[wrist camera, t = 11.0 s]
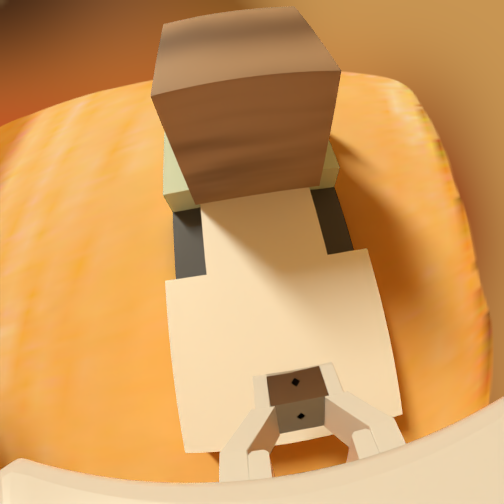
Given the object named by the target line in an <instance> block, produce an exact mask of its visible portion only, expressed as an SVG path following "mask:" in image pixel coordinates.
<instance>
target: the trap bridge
mask: <svg viewBox="0 0 504 504" xmlns="http://www.w3.org/2000/svg"><path fill="white" fill-rule="evenodd" d="M339 169H340V167H339V164H338V161H337V159H336V156H335V154H334V151H333V149H332V146H331V144H330V141H328V146H327V151H326V156H325V161H324V166H323V171H322V175H321V180H320V185H319V186H314V187H306V188H299V189H291V190H284V191H277V192H271V193H264V194H257V195H251V196H245V197H239V198H232V199H226V200H221V201H215V202H209V203H204V204H198V205H195V203H194V200H193V198H192V196H191V193H190V191H189V189H188V186H187V184H186V181H185V179H184V177H183V174H182V172H181V170H180V167H179V165H178V162H177V160H176V158H175V155H174V153H173V150H172V148H171V145H170V143H169V141H168V138H167V136H166V133H165V135H164V163H163V196H164V198H165V199H166V201H167V203H168V205H169V206H170V208H171V210H172V212H173V229H174V252H175V270H176V279H175V280H168V281H165V286H166V302H167V315H168V327H169V338H170V348H171V358H172V367H173V375H174V383H175V391H176V398H177V405H178V412H179V418H180V425H181V431H182V437H183V442H184V448H185V453H202V452H220V451H221V450H222V449H223V448H224V446H225V445H226V444H227V442H228V441H229V440H230V438H231V437H232V435H233V434H234V433H235V431H236V430H237V429H238V427H239V426H240V424H241V423H242V422H243V420H244V419H245V417H246V416H247V414H248V413H249V412H250V410H251V409H255V406H254V394H253V383H252V377H253V376H257V375H265V374H271V373H278V372H285V371H291V370H295V369H300V368H305V367H310V366H315V365H320V364H324V363H329V362H332V363H333V365H334V368H335V370H336V373H337V375H338V378H339V381H340V383H341V386H342V388H343V391H344V392H347V391H348V392H350V393H351V394H353V395H355V396H356V397H358V398H360V399H361V400H363V401H365V402H366V403H368V404H370V405H371V406H373V407H375V408H377V409H378V410H380V411H382V412H383V413H385V414H387V415H389V416H390V417H392V418H393V417H396V416H399V415H401V414H403V413H402V405H401V398H400V392H399V386H398V379H397V374H396V368H395V362H394V357H393V352H392V347H391V342H390V337H389V332H388V328H387V323H386V319H385V315H384V310H383V306H382V302H381V298H380V294H379V290H378V286H377V282H376V279H375V275H374V271H373V268H372V264H371V260H370V257H369V253H368V250H367V248H365V249H359V250H354V249H353V246H352V242H351V239H350V235H349V232H348V229H347V225H346V222H345V219H344V216H343V212H342V209H341V206H340V203H339V200H338V197H337V194H336V191H335V188H334V186H335V183H336V179H337V176H338V172H339ZM266 377H267V376H266ZM328 435H333V433H331V432H330V431H329V430H328V429H327V428H326V427H324V426H319V427H313V428H308V429H302V430H297V431H292V432H287V433H282V434H280V436H279V438H278V440H277V442H276V444H275V445H282V444H288V443H294V442H299V441H305V440H310V439H315V438H319V437H324V436H328Z"/></svg>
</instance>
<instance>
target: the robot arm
mask: <svg viewBox="0 0 504 504" xmlns="http://www.w3.org/2000/svg"><path fill="white" fill-rule="evenodd" d="M266 376H267V377H266ZM252 383H253V394H254V406H255V409H251V410H250V412H249V413H248V414H247V416H246V417H245V419H244V420H243V422H242V423H241V424H240V426H239V427H238V429H237V430H236V431H235V433H234V434H233V435H232V437H231V438H230V440H229V441H228V442H227V444H226V445H225V446H224V448H223V449H222V450H221V452H220V453H219V482H213V483H168V482H149V481H137V480H127V479H118V478H111V477H104V476H97V475H91V474H86V473H81V472H76V471H71V470H66V469H62V468H58V467H54V466H50V465H46V464H42V463H39V462H35V461H32V460H29V459H25V458H19V459H16V460H14V461H13V462H11V463H10V464H8V465H7V466H5V467H4V468H2V469H1V470H0V504H504V396H503V397H501V398H500V399H498V400H496V401H495V402H493V403H491V404H490V405H488V406H486V407H484V408H482V409H481V410H479V411H477V412H475V413H473V414H471V415H469V416H468V417H466V418H464V419H462V420H460V421H458V422H456V423H454V424H451V425H449V426H447V427H445V428H443V429H441V430H438V431H436V432H434V433H432V434H429V435H427V436H425V437H422V438H420V439H417V440H415V441H412V442H409V443H407V444H406V443H405V440H404V438H403V436H402V434H401V432H400V430H399V428H398V426H397V423H396V421H395V419H394V418H392V417H390V416H389V415H387V414H385V413H383V412H382V411H380V410H378V409H377V408H375V407H373V406H371V405H370V404H368V403H366V402H365V401H363V400H361V399H360V398H358V397H356V396H355V395H353V394H351V393H350V392H348V391H347V392H344V391H343V388H342V386H341V383H340V381H339V378H338V375H337V373H336V370H335V368H334V365H333V363H332V362H329V363H324V364H320V365H315V366H310V367H305V368H300V369H295V370H291V371H285V372H278V373H271V374H265V375H257V376H253V377H252ZM319 426H324V427H326V428H327V429H328V430H329V431H330V432H331V433H333V434H334V435H335V436H336V437H337V438H339V439H340V440H341V441H342V442H343V443H345V444H346V445H347V446H348V447H349V452H348V456H347V461H346V463H343V464H340V465H335V466H331V467H327V468H322V469H318V470H313V471H308V472H303V473H297V474H292V475H285V476H279V477H275V475H274V471H273V467H272V463H271V459H270V453H271V452H272V450H273V448H274V446H275V444H276V442H277V440H278V438H279V436H280V434H282V433H287V432H292V431H297V430H302V429H308V428H313V427H319Z"/></svg>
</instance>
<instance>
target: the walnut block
mask: <svg viewBox="0 0 504 504" xmlns="http://www.w3.org/2000/svg"><path fill="white" fill-rule="evenodd" d="M340 74H341V70H340V68H339V67H338V65H337V64H336V62H335V61H334V59H333V58H332V56H331V55H330V53H329V52H328V50H327V49H326V47H325V46H324V45H323V43H322V42H321V41H320V39H319V38H318V36H317V35H316V34H315V32H314V31H313V29H312V28H311V27H310V26H309V24H308V23H307V22H306V20H305V19H304V18H303V16H302V15H301V14H300V13H299V11H298V10H297V9H296V8H295V7H271V8H258V9H247V10H238V11H230V12H224V13H216V14H210V15H205V16H199V17H194V18H189V19H184V20H180V21H176V22H171V23H167V24H164V25H163V29H162V34H161V39H160V44H159V49H158V54H157V60H156V66H155V72H154V78H153V84H152V91H151V98H152V101H153V103H154V106H155V108H156V111H157V113H158V116H159V118H160V121H161V123H162V126H163V128H164V131H165V133H166V136H167V138H168V141H169V143H170V145H171V148H172V150H173V153H174V155H175V158H176V160H177V162H178V165H179V167H180V170H181V172H182V174H183V177H184V179H185V181H186V184H187V186H188V189H189V191H190V193H191V196H192V198H193V200H194V203H195V205H198V204H204V203H209V202H215V201H221V200H226V199H232V198H239V197H245V196H251V195H257V194H264V193H271V192H277V191H284V190H291V189H299V188H306V187H314V186H319V185H320V180H321V175H322V171H323V166H324V161H325V156H326V151H327V146H328V141H329V136H330V131H331V125H332V120H333V115H334V109H335V104H336V98H337V92H338V86H339V81H340Z"/></svg>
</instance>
